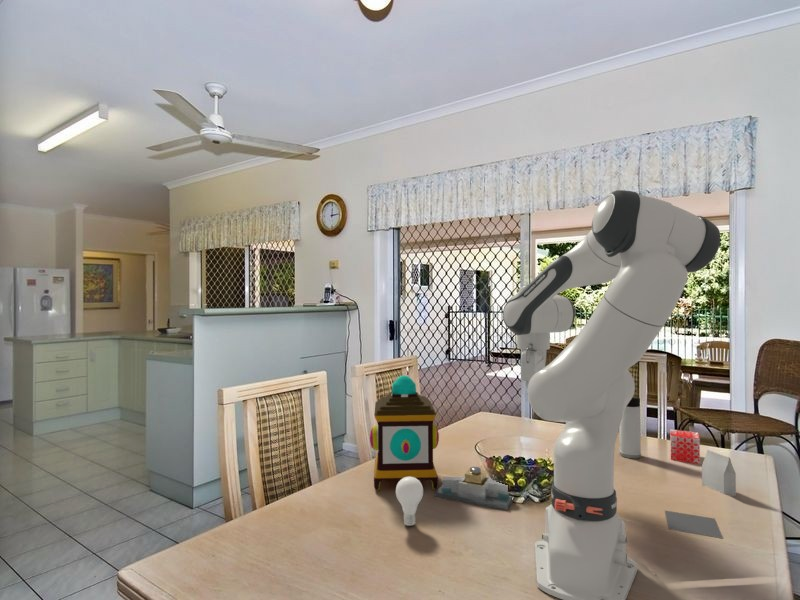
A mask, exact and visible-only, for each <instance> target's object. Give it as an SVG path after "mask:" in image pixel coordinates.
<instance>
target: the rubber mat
mask: <svg viewBox="0 0 800 600" xmlns="http://www.w3.org/2000/svg"><path fill="white" fill-rule="evenodd" d="M664 514H665V519H666V522H667V528H668V530H672V531H677V532H681V533H683V532H684V533H688V534H694V535H699V536H705V537H711V538H716V539H721V540H723V539H724V537H723V534H722V533H721V530H720V527H719V525H718V524H717V521H716V520H717V519H716V518H713V517H707V516H700V515H696V514H690V513H688V514H687V513H683V512H677V511H670V510H664Z"/></svg>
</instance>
